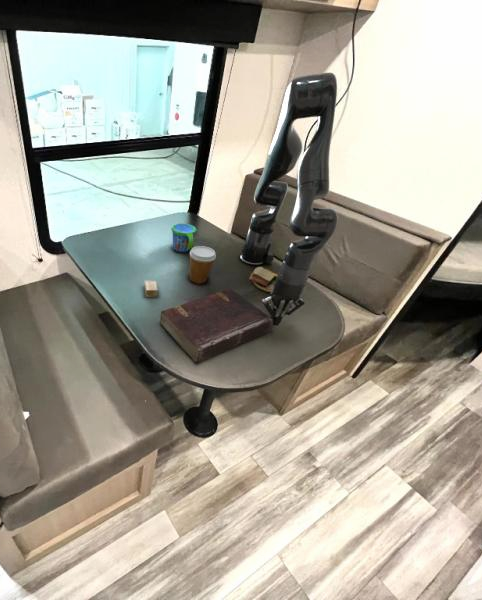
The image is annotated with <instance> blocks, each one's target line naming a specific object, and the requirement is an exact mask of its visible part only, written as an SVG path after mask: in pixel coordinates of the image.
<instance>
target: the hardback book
mask: <svg viewBox="0 0 482 600" xmlns="http://www.w3.org/2000/svg"><path fill="white" fill-rule="evenodd" d="M273 321H274V320H273V319H271V316H269V315H267V314H266V313H265V312H264V311H262V310H261V309H260V308H259V307H257V306H256V305H254V304H253V303H251V302H250V301H249V300H247V298H245V297H244V296H242V295H241V294H240V293H238V292H237V291H236V290H234V289H233V288H232V287H231V288H228V289H225V290H221V291H219V292H215V293H212V294H210V295H207V296H203V297H201V298H197V299H194V300H191V301H187V302H185V303H182V304H179V305H176V306H173V307H170V308H166V309H164V310H161V311H160V317H159V323H160V325H161V326H162V327H163V328H164V329H165V330H166V331H167V332H168V333H169V335H170V336H171V337H172V338H173V339H174V340H175V342H177V343H178V345H179V346H181V348H182V349H183V350H184V352H186V354H188V355H189V357H190V358H191V359H192V360H193V361H194V362H195V363H196V364H197V363H200V362H201V361H203V360H206V359H209V358H211V357H213V356H216V355H217V354H220V353H222V352H224V351H227V350H229V349H232V348H234V347H236V346H238V345H241V344H244V343H245V342H248V341H250V340H253V339H254V338H258V337H259V336H262V335H264V334H266V333H269V332H270V331H271V330H272V327H273Z"/></svg>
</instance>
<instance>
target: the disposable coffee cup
mask: <svg viewBox="0 0 482 600" xmlns="http://www.w3.org/2000/svg"><path fill="white" fill-rule="evenodd" d="M189 257H190V261H189V262H190V263H189V280H190V281H191V282H193V283H195V284H204V283H206V282H207V279H208V276H209V274H210V271H211V269H212V266H213V263H214V261H215V259H216V258H217V255H216V251H215V250H214V249H213V248H211V247H208V246H203V245H196V246H193V248H192V249H190V250H189Z"/></svg>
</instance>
